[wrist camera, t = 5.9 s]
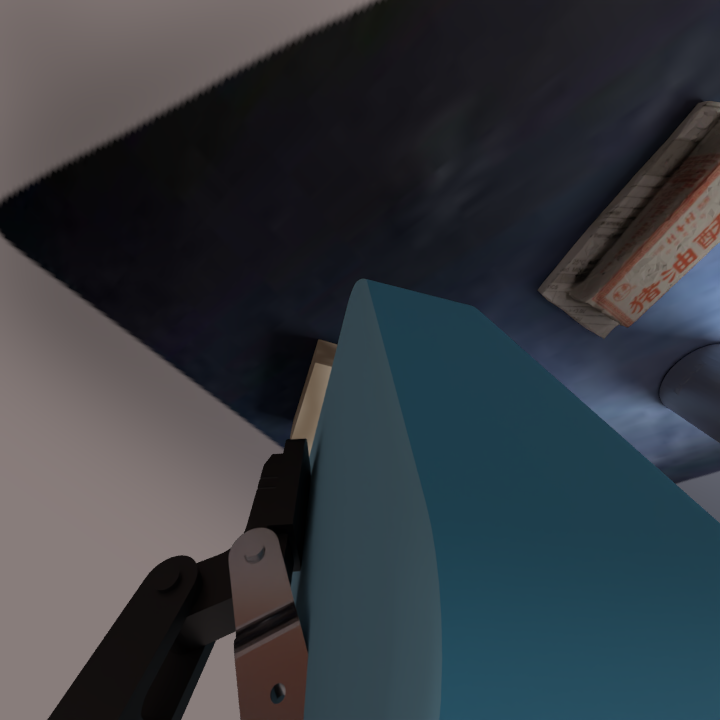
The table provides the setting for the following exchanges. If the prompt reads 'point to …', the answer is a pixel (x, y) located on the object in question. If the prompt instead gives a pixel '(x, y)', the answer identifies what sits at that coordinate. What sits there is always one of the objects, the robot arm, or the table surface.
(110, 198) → the table surface
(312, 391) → the stand
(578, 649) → the blue product box
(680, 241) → the packaged product
